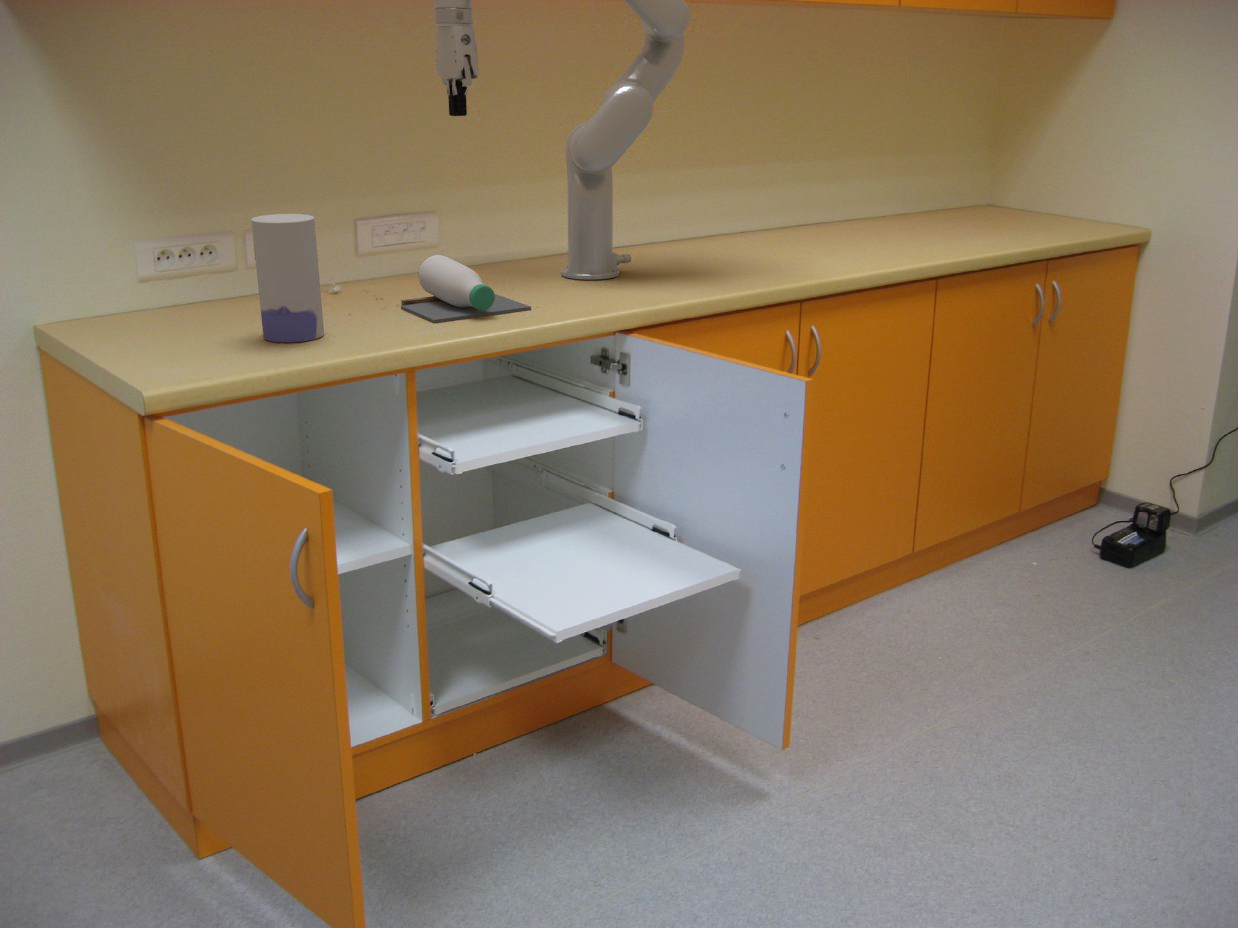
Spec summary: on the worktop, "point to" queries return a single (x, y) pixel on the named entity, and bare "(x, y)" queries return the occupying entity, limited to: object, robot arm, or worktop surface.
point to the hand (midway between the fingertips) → (458, 115)
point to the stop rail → (420, 300)
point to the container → (288, 277)
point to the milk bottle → (454, 283)
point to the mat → (462, 310)
